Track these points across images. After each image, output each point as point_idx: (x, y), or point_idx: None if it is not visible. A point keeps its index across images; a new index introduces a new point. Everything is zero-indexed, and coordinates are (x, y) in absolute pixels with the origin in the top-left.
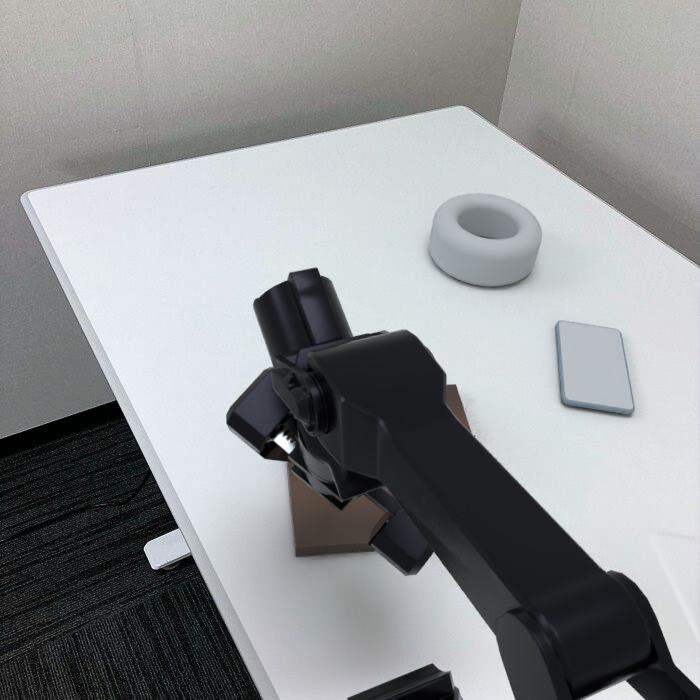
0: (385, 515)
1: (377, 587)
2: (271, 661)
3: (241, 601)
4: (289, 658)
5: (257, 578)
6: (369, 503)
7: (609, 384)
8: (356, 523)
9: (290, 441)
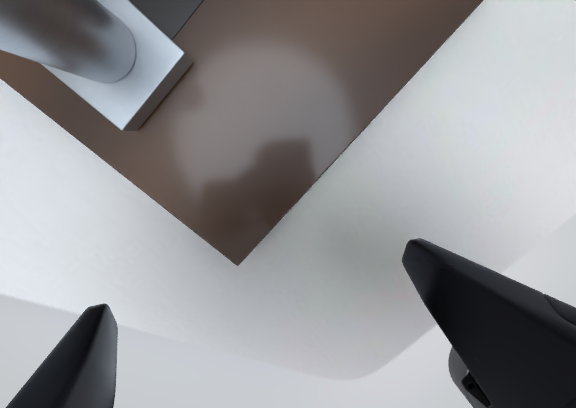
0: (504, 339)
1: (364, 210)
2: (322, 372)
3: (236, 349)
4: (336, 356)
5: (225, 314)
6: (269, 108)
7: None
8: (279, 161)
9: None
